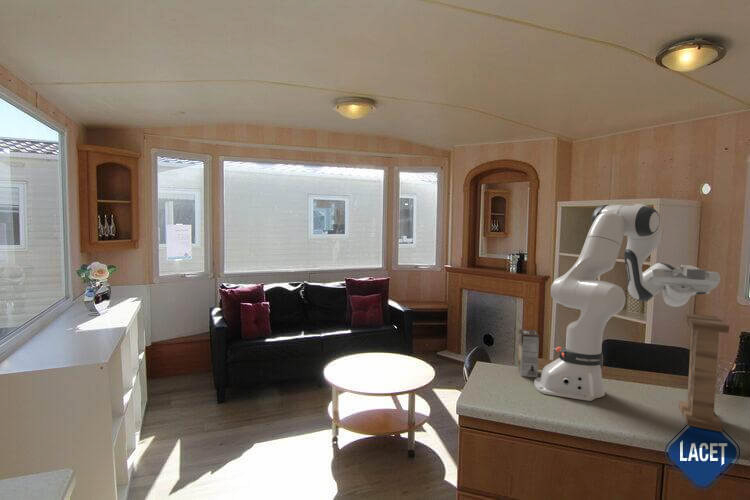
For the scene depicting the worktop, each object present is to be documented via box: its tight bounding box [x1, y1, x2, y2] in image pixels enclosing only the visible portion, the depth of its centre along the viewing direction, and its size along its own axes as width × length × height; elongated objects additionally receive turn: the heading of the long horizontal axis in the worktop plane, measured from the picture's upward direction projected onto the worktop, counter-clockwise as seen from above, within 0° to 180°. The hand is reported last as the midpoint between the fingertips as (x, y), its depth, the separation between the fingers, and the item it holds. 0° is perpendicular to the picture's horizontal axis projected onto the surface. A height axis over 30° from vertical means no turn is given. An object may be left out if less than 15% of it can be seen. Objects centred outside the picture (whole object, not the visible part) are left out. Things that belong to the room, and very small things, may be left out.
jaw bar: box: [680, 264, 707, 280], centre depth 147 cm, size 20×5×3 cm, turn 153°
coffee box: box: [517, 328, 540, 378], centre depth 165 cm, size 9×6×16 cm
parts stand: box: [678, 313, 730, 433], centre depth 127 cm, size 14×8×30 cm, turn 153°
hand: (688, 268), depth 152 cm, fingers closed on jaw bar, 3 cm apart
